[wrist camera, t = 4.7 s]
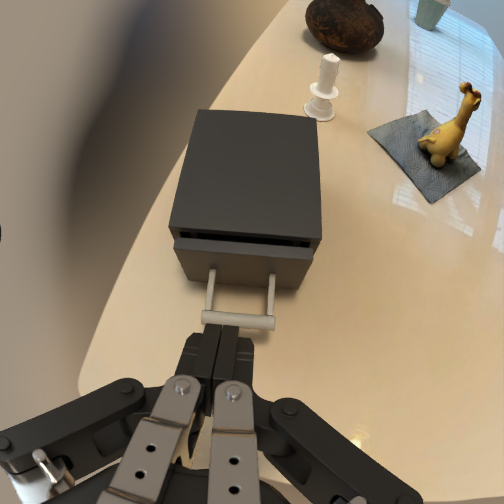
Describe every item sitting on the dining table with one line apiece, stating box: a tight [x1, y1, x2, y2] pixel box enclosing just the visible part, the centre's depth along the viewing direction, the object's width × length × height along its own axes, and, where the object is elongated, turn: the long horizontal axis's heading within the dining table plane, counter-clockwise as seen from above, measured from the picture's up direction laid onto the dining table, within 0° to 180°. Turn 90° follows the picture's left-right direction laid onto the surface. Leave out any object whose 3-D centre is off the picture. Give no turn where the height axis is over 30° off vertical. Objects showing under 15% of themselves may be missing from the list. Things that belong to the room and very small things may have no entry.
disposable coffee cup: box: [415, 0, 450, 31], centre depth 67 cm, size 11×11×15 cm
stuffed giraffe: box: [368, 82, 481, 204], centre depth 41 cm, size 16×18×16 cm
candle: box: [304, 53, 340, 121], centre depth 45 cm, size 5×5×12 cm
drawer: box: [173, 232, 313, 331], centre depth 34 cm, size 20×13×9 cm, turn 175°
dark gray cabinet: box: [168, 110, 322, 256], centre depth 36 cm, size 16×14×11 cm
